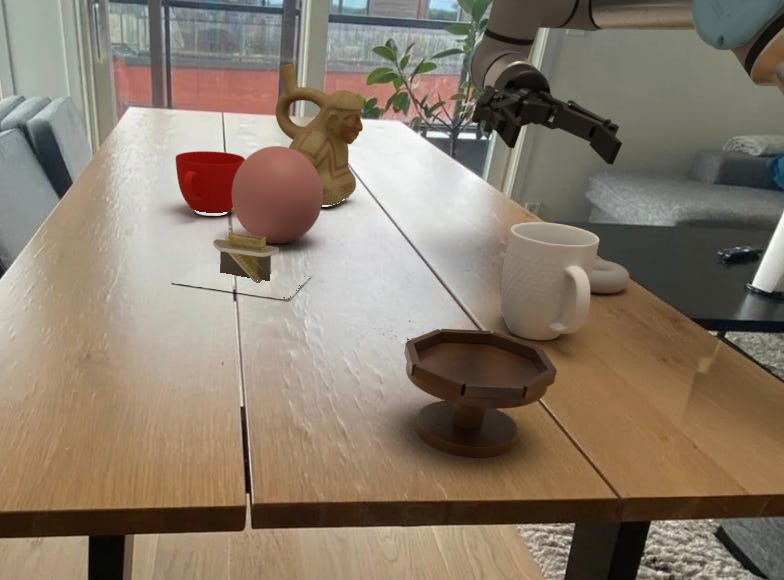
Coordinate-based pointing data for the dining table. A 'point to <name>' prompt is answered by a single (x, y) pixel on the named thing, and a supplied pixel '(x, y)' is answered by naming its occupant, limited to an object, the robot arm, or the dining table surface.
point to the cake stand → (474, 387)
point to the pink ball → (277, 194)
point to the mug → (547, 279)
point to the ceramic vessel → (323, 133)
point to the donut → (608, 277)
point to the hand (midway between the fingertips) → (565, 145)
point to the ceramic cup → (207, 179)
